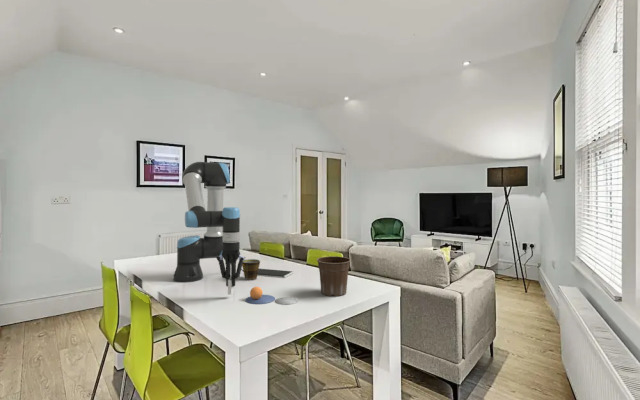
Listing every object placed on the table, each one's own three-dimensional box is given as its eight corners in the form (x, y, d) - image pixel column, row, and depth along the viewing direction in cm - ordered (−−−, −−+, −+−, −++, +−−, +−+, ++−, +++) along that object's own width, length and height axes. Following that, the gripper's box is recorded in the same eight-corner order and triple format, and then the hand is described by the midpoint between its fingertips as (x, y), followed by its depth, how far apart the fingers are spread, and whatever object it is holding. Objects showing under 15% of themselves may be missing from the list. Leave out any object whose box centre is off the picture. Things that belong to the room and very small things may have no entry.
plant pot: (335, 300, 148) (335, 264, 147) (309, 293, 158) (309, 259, 158) (357, 292, 160) (357, 259, 159) (331, 286, 170) (332, 255, 170)
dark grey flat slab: (285, 279, 186) (285, 276, 186) (243, 275, 195) (243, 272, 195) (294, 274, 199) (294, 271, 199) (254, 270, 208) (254, 267, 207)
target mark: (240, 303, 142) (240, 302, 142) (251, 294, 155) (251, 293, 155) (270, 304, 140) (270, 304, 140) (278, 295, 153) (278, 295, 153)
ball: (256, 303, 145) (246, 296, 146) (260, 299, 151) (250, 293, 151) (262, 293, 145) (252, 286, 145) (266, 289, 150) (255, 282, 151)
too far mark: (272, 303, 142) (272, 303, 142) (278, 296, 152) (278, 296, 152) (295, 305, 140) (295, 304, 140) (300, 298, 150) (300, 297, 150)
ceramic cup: (251, 275, 191) (251, 258, 191) (263, 278, 186) (263, 260, 185) (233, 280, 181) (233, 262, 181) (245, 283, 175) (246, 264, 175)
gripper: (213, 242, 147) (213, 295, 147) (241, 243, 145) (241, 296, 145) (221, 240, 154) (220, 290, 155) (247, 240, 152) (247, 291, 153)
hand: (230, 293), depth 150 cm, fingers closed
